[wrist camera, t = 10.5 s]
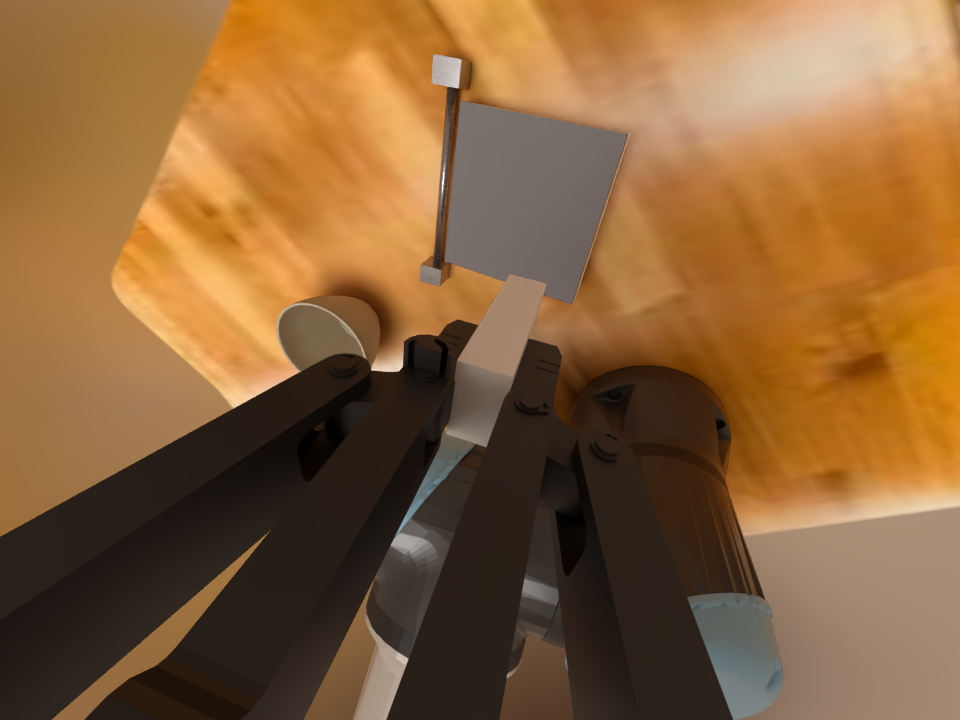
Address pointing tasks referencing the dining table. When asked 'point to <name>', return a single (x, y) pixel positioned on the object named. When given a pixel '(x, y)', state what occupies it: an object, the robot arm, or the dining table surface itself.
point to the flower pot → (327, 330)
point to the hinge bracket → (445, 157)
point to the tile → (529, 195)
